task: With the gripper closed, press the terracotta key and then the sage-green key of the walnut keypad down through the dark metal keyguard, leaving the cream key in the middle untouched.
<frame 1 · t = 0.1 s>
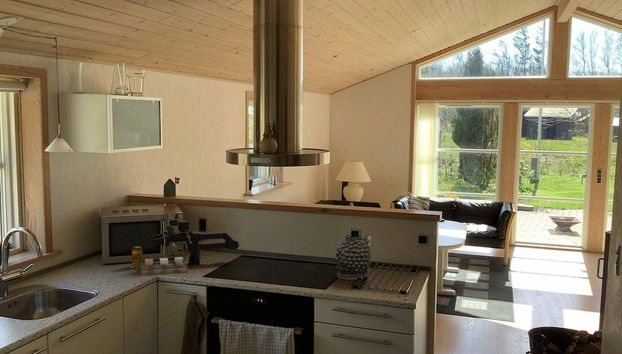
hand: (151, 239, 351), 17 cm above the worktop, tool horizontal, fingers open, 9 cm apart
pine cone figurine: (352, 277, 334), on the worktop
condiment: (138, 266, 352), on the worktop
keypad: (164, 270, 343), on the worktop
key sage: (178, 260, 345), point 5 cm above the worktop, slide at 0.0 cm
key cream: (163, 261, 343), point 5 cm above the worktop, slide at 0.0 cm
key terracotta: (148, 262, 340), point 5 cm above the worktop, slide at 0.0 cm
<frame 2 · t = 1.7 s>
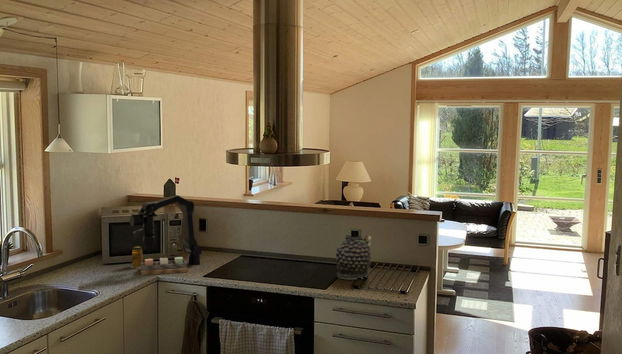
hand: (148, 250, 340), 12 cm above the worktop, tool pointing down, fingers open, 8 cm apart
nothing on the worktop moved.
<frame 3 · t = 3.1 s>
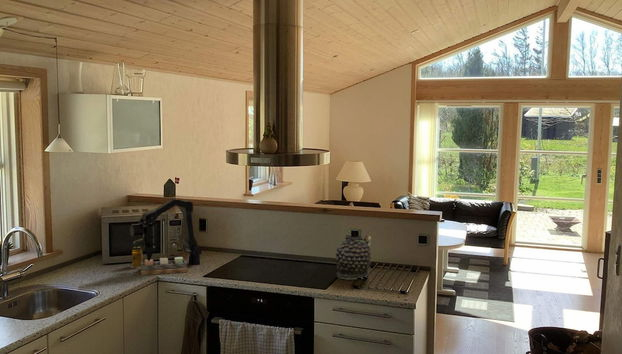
hand: (148, 260, 340), 6 cm above the worktop, tool pointing down, fingers closed, pressing on key terracotta
key terracotta: (148, 263, 340), point 5 cm above the worktop, slide at 0.5 cm, touching gripper
everything else where it was.
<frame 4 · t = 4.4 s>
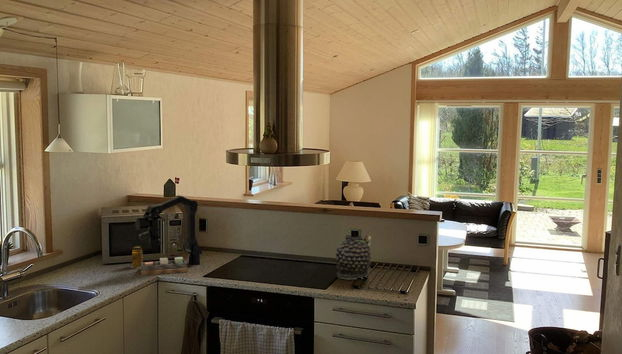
hand: (154, 253, 341), 11 cm above the worktop, tool pointing down, fingers closed
key terracotta: (149, 265, 340), point 4 cm above the worktop, slide at 1.9 cm
everything else where it was.
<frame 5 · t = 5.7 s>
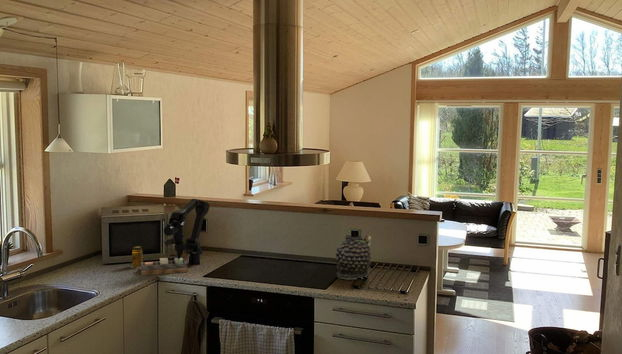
hand: (178, 258, 345), 6 cm above the worktop, tool pointing down, fingers closed, pressing on key sage
key sage: (178, 261, 345), point 5 cm above the worktop, slide at 0.5 cm, touching gripper
everything else where it was.
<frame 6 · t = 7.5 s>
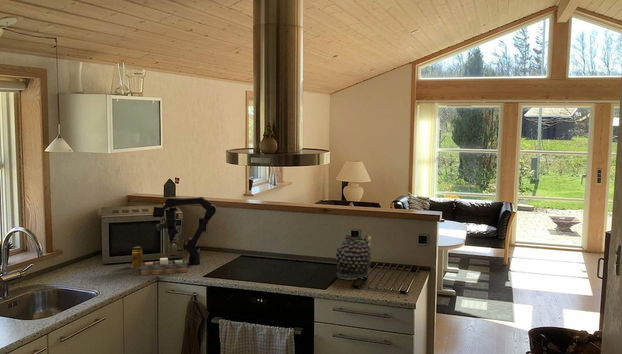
hand: (170, 243, 358), 13 cm above the worktop, tool pointing down, fingers closed
key sage: (178, 263, 346), point 4 cm above the worktop, slide at 2.0 cm
everything else where it was.
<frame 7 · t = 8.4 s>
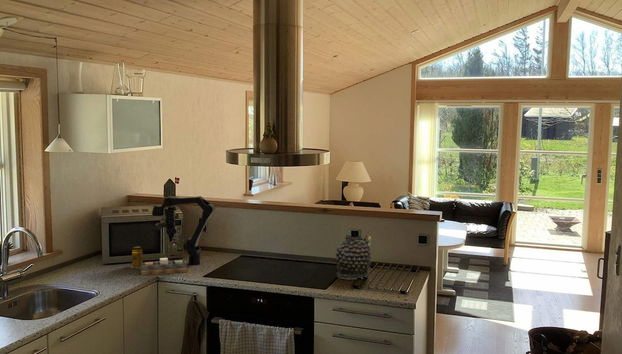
hand: (170, 242, 361), 13 cm above the worktop, tool pointing down, fingers closed
nothing on the worktop moved.
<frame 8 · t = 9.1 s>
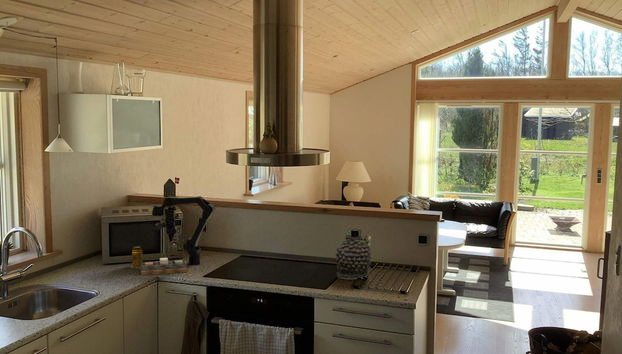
hand: (170, 242, 361), 13 cm above the worktop, tool pointing down, fingers closed
nothing on the worktop moved.
at the end: key terracotta slide at 1.9 cm; key sage slide at 2.0 cm; key cream slide at 0.0 cm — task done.
